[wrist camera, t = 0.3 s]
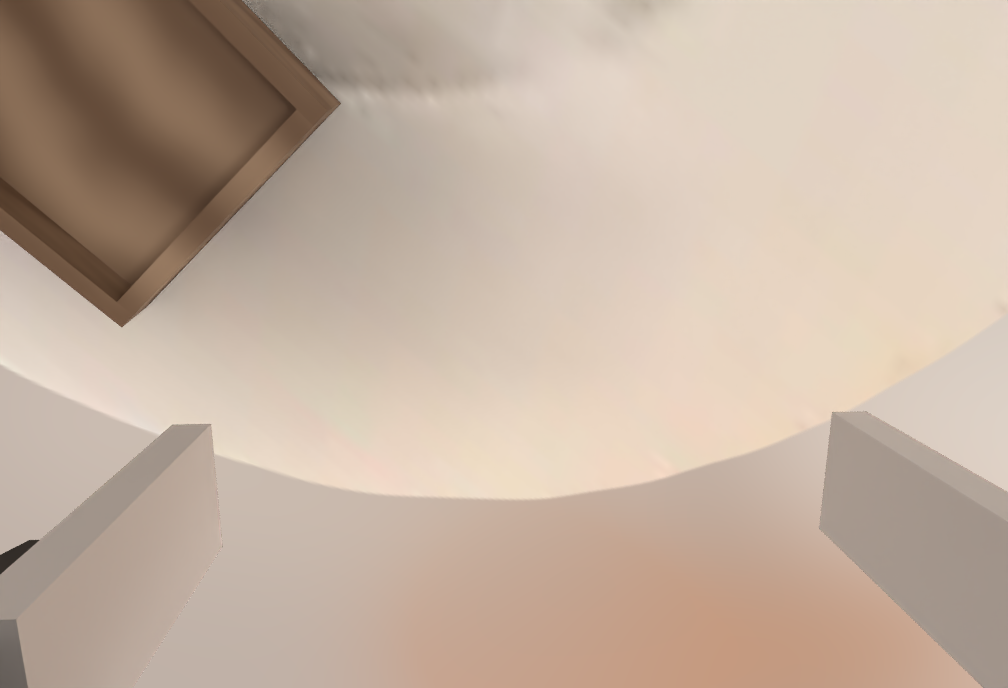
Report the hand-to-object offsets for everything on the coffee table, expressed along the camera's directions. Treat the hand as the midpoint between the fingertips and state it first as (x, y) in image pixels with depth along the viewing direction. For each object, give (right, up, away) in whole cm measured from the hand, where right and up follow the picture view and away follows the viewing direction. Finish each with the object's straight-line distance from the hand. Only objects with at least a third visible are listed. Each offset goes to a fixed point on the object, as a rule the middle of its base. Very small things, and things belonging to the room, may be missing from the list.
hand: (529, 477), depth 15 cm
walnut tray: (-20, +15, +20) cm, 32 cm away
